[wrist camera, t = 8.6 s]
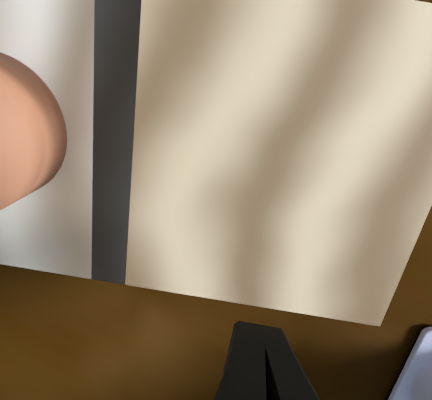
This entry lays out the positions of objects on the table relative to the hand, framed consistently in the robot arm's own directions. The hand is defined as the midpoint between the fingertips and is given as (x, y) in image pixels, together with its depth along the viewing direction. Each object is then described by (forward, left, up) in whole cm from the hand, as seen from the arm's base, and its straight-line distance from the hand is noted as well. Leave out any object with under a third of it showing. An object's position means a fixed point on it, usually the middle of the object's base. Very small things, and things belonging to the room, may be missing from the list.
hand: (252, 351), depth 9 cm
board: (+6, -3, -9) cm, 12 cm away
